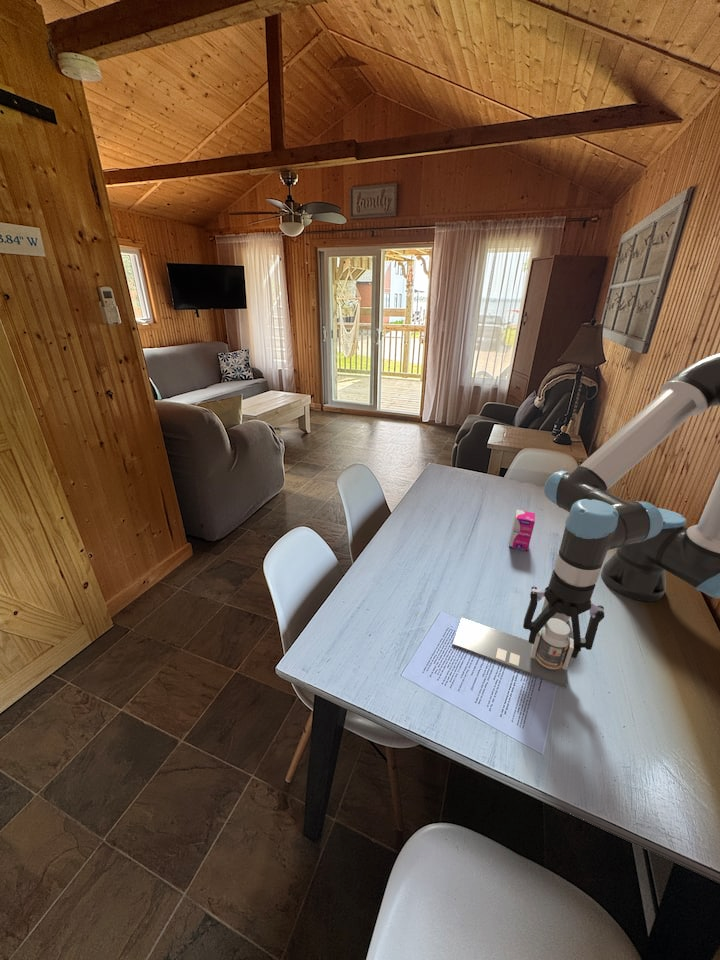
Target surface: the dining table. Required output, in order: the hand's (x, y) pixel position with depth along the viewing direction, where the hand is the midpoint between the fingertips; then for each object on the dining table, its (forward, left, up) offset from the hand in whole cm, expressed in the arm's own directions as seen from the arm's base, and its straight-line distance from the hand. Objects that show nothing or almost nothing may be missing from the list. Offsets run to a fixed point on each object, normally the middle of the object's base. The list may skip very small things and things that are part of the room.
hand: (548, 658), depth 86 cm
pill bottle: (0, 0, -1) cm, 1 cm away
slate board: (+8, 0, -2) cm, 8 cm away
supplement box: (+11, -45, -2) cm, 47 cm away
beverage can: (-1, -16, -2) cm, 17 cm away
